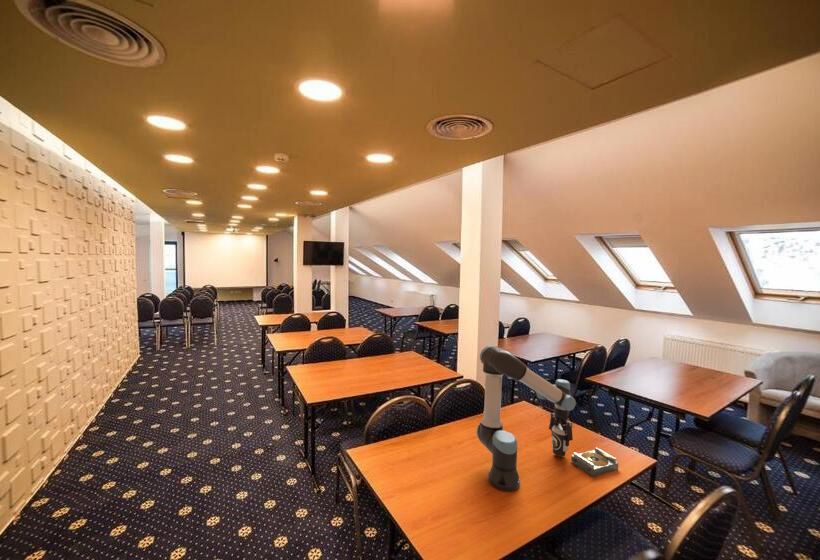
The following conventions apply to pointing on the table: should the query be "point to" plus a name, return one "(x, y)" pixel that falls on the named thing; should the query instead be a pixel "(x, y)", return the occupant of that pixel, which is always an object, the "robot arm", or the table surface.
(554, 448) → the coffee cup
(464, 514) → the table surface
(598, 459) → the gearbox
